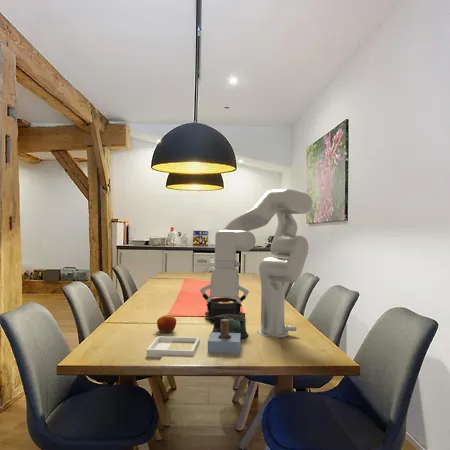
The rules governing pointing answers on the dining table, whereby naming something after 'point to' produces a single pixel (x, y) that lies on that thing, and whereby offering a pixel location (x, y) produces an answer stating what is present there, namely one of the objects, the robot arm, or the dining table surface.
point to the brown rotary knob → (231, 324)
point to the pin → (224, 329)
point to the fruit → (166, 323)
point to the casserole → (223, 307)
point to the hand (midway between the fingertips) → (223, 313)
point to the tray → (163, 343)
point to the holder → (224, 343)
